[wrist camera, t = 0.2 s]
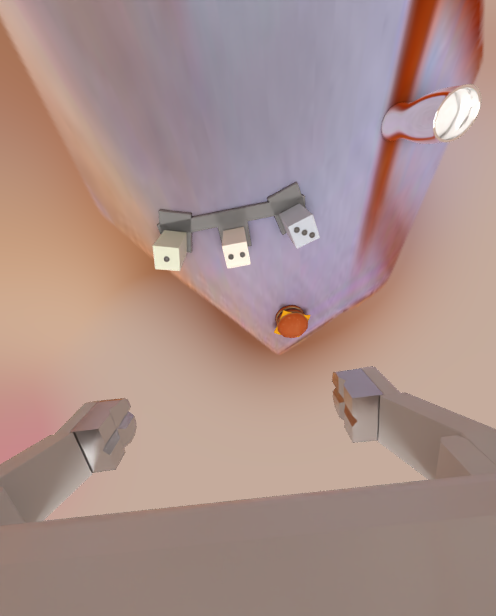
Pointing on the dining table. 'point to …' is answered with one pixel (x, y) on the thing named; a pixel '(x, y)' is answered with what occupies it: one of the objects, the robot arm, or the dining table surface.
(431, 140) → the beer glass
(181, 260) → the key one dot
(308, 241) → the key three dots
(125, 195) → the dining table surface
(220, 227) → the grey flat piece
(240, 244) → the key two dots
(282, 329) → the hamburger
